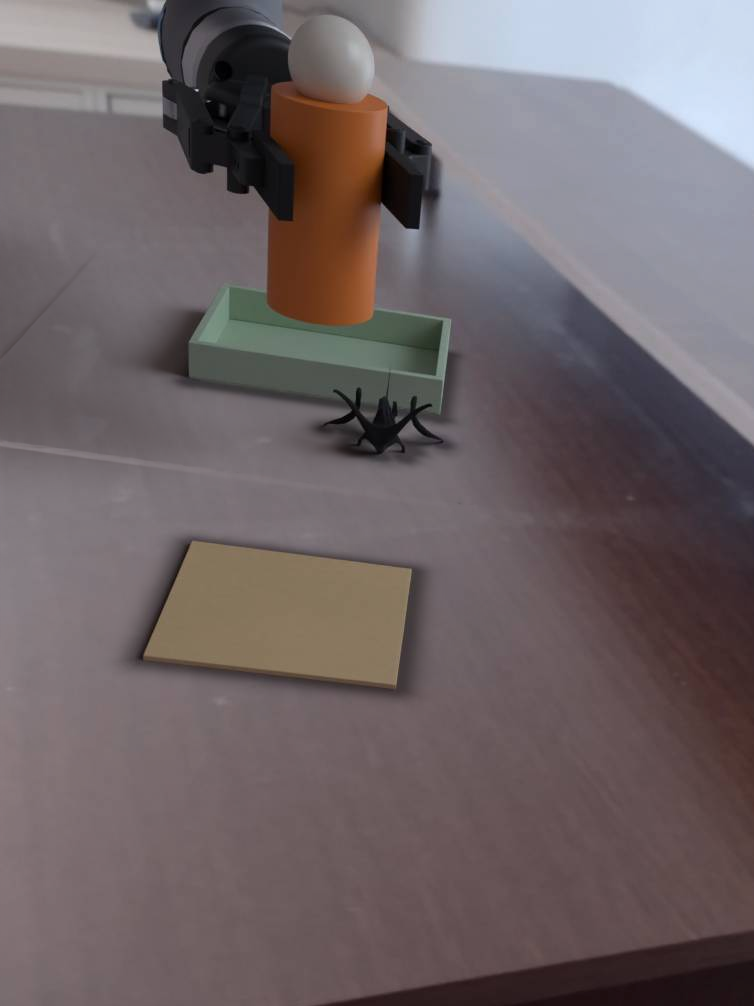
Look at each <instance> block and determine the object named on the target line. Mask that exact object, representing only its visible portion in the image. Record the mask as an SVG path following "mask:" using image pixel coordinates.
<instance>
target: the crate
mask: <svg viewBox="0 0 754 1006" xmlns="http://www.w3.org/2000/svg"><path fill="white" fill-rule="evenodd" d="M451 326H452V318H450V317H449V318H448V317H441V316H435V315H430V314H429V315H428V314H422V313H416V312H409V311H402V310H397V309H390V308H384V307H378V306H374V312H373V316H372V318H371V319H370V320H368V321H366V322H363V323H360V324H355V325H347V326H328V325H319V324H312V323H306V322H302V321H298V320H294V319H291V318H288V317H286V316H283V315H281V314H279V313H277V312H276V311H274V310H273V309H271V308H270V307H269V305H268V304H267V289H264V288H263V289H262V288H257V287H256V288H255V287H249V286H243V285H238V284H231V283H222V284H221V286H220V287H219V289H218V291H217V292H216V295H215V296H214V298H213V299H212V301H211V303H210V305H209V306H208V307H207V310H206V311H205V313H204V315H203V316H202V318H201V320H200V322H199V324H198V325H197V327H196V328H195V330H194V332H193V333H192V335H191V337H190V339H189V341H188V343H187V347H188V351H187V353H188V378H189V379H194V380H201V381H207V382H208V381H209V382H216V383H223V384H227V385H228V384H229V385H236V386H243V387H249V388H250V387H251V388H255V389H262V390H269V391H276V392H283V393H284V392H285V393H291V394H298V395H304V396H311V397H319V398H325V399H331V400H332V399H333V400H340V401H345V400H344V399H343V398H342V397H340V396H339V395H338V394H337V393H335V392H334V393H333V390H334V389H336V390H339V391H340V392H342V393H343V394H344V395H346V396H347V397H348V398H349V399H350V400H351V401H352V402H353V403H355V402H356V390H357V388H358V387H360V388H361V391H362V392H361V394H362V396H361V404H367V405H373V406H378V404H379V399H380V398H382V397H384V396H386V393H387V387H388V380H389V388H388V401H389V404H390V407H391V408H392V406H393V401H396V402H397V409H401V410H407V411H410V407H411V404H410V402H411V399H412V397H413V396H417V404H416V408H418V407H421V406H423V405H425V404H432V407H428V408H426V409H424V410H422V411H421V413H427V414H433V415H434V414H435V415H441V410H442V402H443V393H444V387H445V386H444V385H445V379H446V370H447V363H448V362H447V361H448V355H449V354H448V353H449V345H450V337H451V336H450V335H451V328H452V327H451ZM389 372H390V378H389Z"/></svg>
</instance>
